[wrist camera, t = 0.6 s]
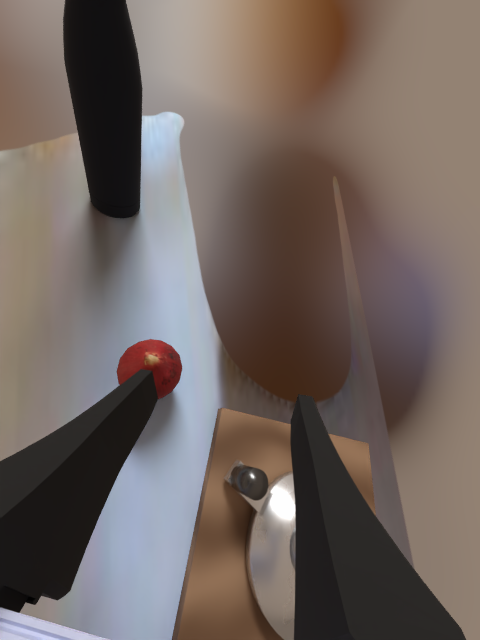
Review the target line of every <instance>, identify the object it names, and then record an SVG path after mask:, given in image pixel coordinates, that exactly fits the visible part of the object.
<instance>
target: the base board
mask: <svg viewBox="0 0 480 640" xmlns="http://www.w3.org/2000/svg"><path fill="white" fill-rule="evenodd" d="M290 433H291V424H286V423H282V422H278V421H274V420H270V419H266V418H262V417H258V416H254V415H250V414H246V413H241V412H237V411H233V410H229V409H225V408H220V409H218V413H217V418H216V423H215V428H214V433H213V438H212V443H211V448H210V453H209V458H208V463H207V468H206V473H205V478H204V483H203V488H202V493H201V497H200V502H199V507H198V512H197V517H196V522H195V527H194V532H193V537H192V542H191V547H190V552H189V557H188V562H187V567H186V572H185V577H184V582H183V587H182V592H181V597H180V602H179V607H178V612H177V617H176V622H175V626H174V631H173V636H172V640H284V639H283V638H282V637H281V636H280V635H278V634H277V632H276V631H275V630H274V629H273V628H272V626H271V625H270V624H269V622H268V621H267V619H266V618H265V617H264V615H263V614H262V612H261V610H260V609H259V607H258V605H257V603H256V600H255V598H254V596H253V593H252V590H251V586H250V583H249V578H248V573H247V564H246V541H247V533H248V526H249V523H250V519H251V515H252V512H253V510H254V509H253V508H252V507H251V506H250V505H249V504H248V503H247V502H246V501H245V500H244V499H243V498H242V497H241V496H240V495H239V494H238V493H237V492H236V491H235V490H234V489H233V488H232V487H231V486H230V485H229V484H228V483H227V482H226V481H225V480H224V477H225V476H226V474H227V473H228V471H229V470H230V468H231V467H232V465H233V464H234V462H235V461H236V460H239V461H241V462H242V463H243V464H244V465H247V466H251V467H254V468H258V469H261V470H263V471H264V472H265V474H266V475H267V478H268V484H269V483H271V482H272V481H273V480H274V479H275V478H277V477H278V476H279V475H282V474H284V473H286V472H290V471H293V470H292V458H291V445H290ZM329 436H330V438H331V440H332V442H333V444H334V447H335V449H336V450H337V452H338V454H339V456H340V458H341V460H342V462H343V464H344V465H345V467H346V469H347V471H348V473H349V474H350V476H351V478H352V479H353V481H354V483H355V484H356V486H357V488H358V489H359V491H360V493H361V494H362V496H363V497H364V499H365V501H366V502H367V504H368V505H369V507H370V508H371V510H372V511H373V513H374V514H375V516H376V513H375V504H374V494H373V484H372V475H371V465H370V455H369V446H368V443H364V442H360V441H356V440H352V439H348V438H344V437H340V436H336V435H331V434H329Z"/></svg>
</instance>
